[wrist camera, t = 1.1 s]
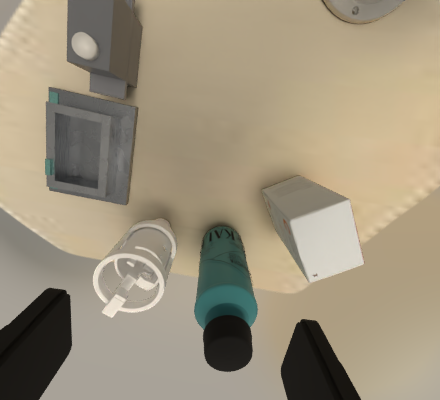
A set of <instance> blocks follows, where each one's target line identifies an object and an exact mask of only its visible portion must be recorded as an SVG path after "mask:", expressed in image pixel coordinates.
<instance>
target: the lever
mask: <svg viewBox="0 0 440 400" xmlns="http://www.w3.org/2000/svg"><path fill="white" fill-rule="evenodd" d="M134 3H135V0H68V21H67V61H68V62H70V63H72V64H74V65H76V66H78V67H80V68H82V69H84V70H86V71H88V72H90V92H94V93H98V94H102V95H107V96H111V97H115V98H119V99H123V100H126V94H127V85H128V86H132V87H136V88H137V78H138V68H139V57H140V47H141V37H142V25H141V24H140V22H139V21H138V19H137V18H136V16H135V15H134Z"/></svg>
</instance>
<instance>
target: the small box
mask: <svg viewBox="0 0 440 400" xmlns="http://www.w3.org/2000/svg"><path fill="white" fill-rule="evenodd" d="M262 193H263V196H264V199H265V202H266V205H267V208H268V210H269V213H270V216H271V219H272V222H273V224H274V227H275V230H276V232H277V234H278V235H279V237H280V238H281V240H282V241H283V243H284V244H285V246H286V247H287V249H288V250H289V252H290V254H291V255H292V257H293V258H294V260H295V262H296V263H297V265H298V266H299V268H300V269H301V271H302V272H303V274H304V276H305V277H306V279H307V280H308V282H309V283H311V282H314V281H317V280H320V279H323V278H326V277H329V276H332V275H335V274H338V273H341V272H344V271H346V270H349V269H352V268H355V267H358V266H360V265H363V264H364V259H363V254H362V250H361V245H360V241H359V237H358V232H357V228H356V224H355V220H354V215H353V211H352V206H351V202H350V199H348V198H346V197H344V196H342V195H340V194H338V193H336V192H333V191H331V190H329V189H327V188H325V187H323V186H321V185H319V184H317V183H315V182H312V181H310V180H308V179H306V178H304V177H302V176H296V177H293V178H291V179H288V180H286V181H283V182H281V183H278V184H275V185H273V186H270V187H267V188H265V189H262Z"/></svg>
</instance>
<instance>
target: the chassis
mask: <svg viewBox="0 0 440 400" xmlns="http://www.w3.org/2000/svg"><path fill="white" fill-rule="evenodd" d="M137 114H138V108H136V107H132V106H128V105H124V104H119V103H115V102H111V101H107V100H102V99H98V98H94V97H90V96H85V95H81V94H77V93H73V92H68V91H64V90H60V89H56V88H51V87H49V102H46V159H45V175H47V186H48V187H49V190H50V191H55V192H60V193H65V194H70V195H76V196H81V197H86V198H91V199H96V200H101V201H106V202H112V203H117V204H122V205H127V204H128V200H129V191H130V181H131V172H132V162H133V152H134V143H135V133H136V124H137Z"/></svg>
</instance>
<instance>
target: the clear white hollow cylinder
mask: <svg viewBox="0 0 440 400" xmlns="http://www.w3.org/2000/svg"><path fill="white" fill-rule="evenodd" d="M136 229H137V230H136ZM121 246H122V248H121V249H119V248H120V247H121ZM163 246H164V247H165V250H166V251H165V250H164V247H163ZM171 248H172V252H170V251H171ZM176 251H177V239H176V236H175V234H174V233H173V231H172V230H171V229H170V224H169V222H168V221H167V220H165V219H162V218H159V219H156V220H145V221H141V222H138V223H136V224H135V225H133V226H132V227H131V228H130V229H129V230H128V232H127V233H126V234H125V235H124V236H123V237H122V238H121V240H120V241H119V242H118V243H117V244H116V245H115V246H114V248H113V249H112V250H111V251H110V252H109V253H108V254H107V256H106V257H105V258H104V259H103V260H102V261H101V263H100V264H99V265H98V266H97V268H96V269H95V272H94V275H93V285H94V288H95V291H96V293H97V295H98V296H99V297H100V299H101V300H102V301H103V302H105V303H106V306H105V308H104V309H103V311H102V313H103V314H106V315H107V316H109V317H113V316H114V315H115V314H116V312H117V311H118V310H120V311H124V312H140V311H145V310H147V309H150V308H151V307H153V306H154V305H156V304H157V303H158V302H159V300H160V299H161V297H162V295H163V292H164V289H165V286H166V281H167V278H168V275H169V272H170V269H171V265H172V262H173V259H174V257H175V254H176ZM113 260H115V269H116V272H117V274H118V275H119V276H120V277H121V278H122V279H123V281H122V282H121V283H120V284H119V286H118V287H117V288H116V290H115V292H114V293H112V292H111V291H110V290H109V288H108V287H107V286H106V284H105V281H104V277H103V276H102V273H103V271H104V267H105V265H106V264H107V263H109V262H111V261H113ZM142 273H146V274H147V275H151V276H150V279H149V278H147V277H146V276H144V275H142ZM139 274H141V275H140V277H139V278H138V275H139ZM137 278H138V279H137ZM136 280H137V281H136ZM134 283H135V284H136V285H138V287H140V288H143V289H145V291H148V290H150V289H152V288H154V287H155V286H156V285H157V284H158V286H157V289H156V291H155V294H154V295H153V296H152V297H150V298H148V299H145V300H142V301H129V300H127V298H128V296H127V295H126V294H127V292H128V291H129V289H130V288H131V287H132V285H133V284H134Z"/></svg>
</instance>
